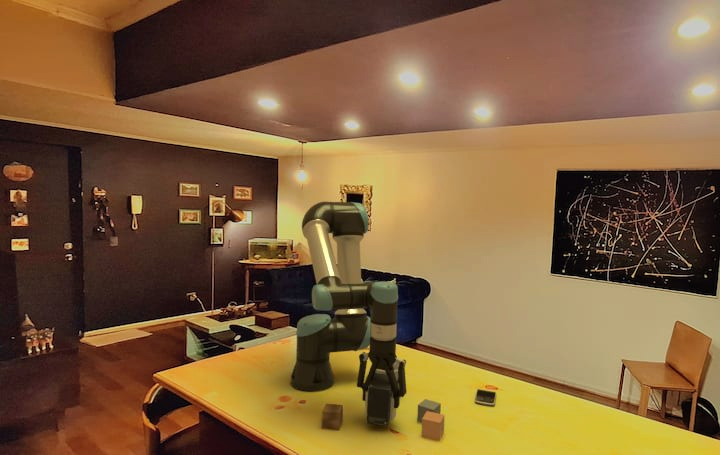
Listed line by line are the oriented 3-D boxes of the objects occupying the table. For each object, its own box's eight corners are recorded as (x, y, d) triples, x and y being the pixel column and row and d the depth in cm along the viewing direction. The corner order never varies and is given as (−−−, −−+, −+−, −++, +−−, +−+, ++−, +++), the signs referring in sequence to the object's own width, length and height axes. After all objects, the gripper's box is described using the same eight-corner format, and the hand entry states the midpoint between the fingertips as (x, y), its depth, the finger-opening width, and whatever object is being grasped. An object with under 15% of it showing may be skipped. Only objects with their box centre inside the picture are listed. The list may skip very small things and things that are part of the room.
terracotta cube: (421, 436, 117) (422, 418, 116) (426, 428, 121) (426, 411, 121) (439, 441, 115) (440, 422, 114) (443, 432, 119) (444, 414, 119)
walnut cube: (321, 428, 119) (322, 411, 119) (325, 420, 124) (326, 403, 124) (339, 430, 119) (339, 413, 119) (342, 421, 124) (343, 404, 123)
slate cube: (417, 421, 125) (417, 404, 125) (424, 415, 129) (425, 398, 129) (433, 427, 122) (433, 409, 122) (440, 420, 126) (440, 403, 126)
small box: (389, 426, 118) (390, 389, 117) (365, 423, 119) (366, 386, 118) (394, 408, 128) (395, 374, 127) (372, 406, 129) (373, 372, 129)
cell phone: (474, 405, 137) (474, 401, 137) (477, 392, 148) (477, 387, 147) (494, 409, 135) (494, 404, 135) (496, 395, 145) (496, 391, 145)
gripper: (345, 334, 123) (343, 412, 124) (412, 346, 115) (409, 429, 116) (356, 328, 130) (354, 401, 131) (420, 338, 121) (417, 417, 123)
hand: (380, 414), depth 124 cm, fingers closed on small box, 7 cm apart
